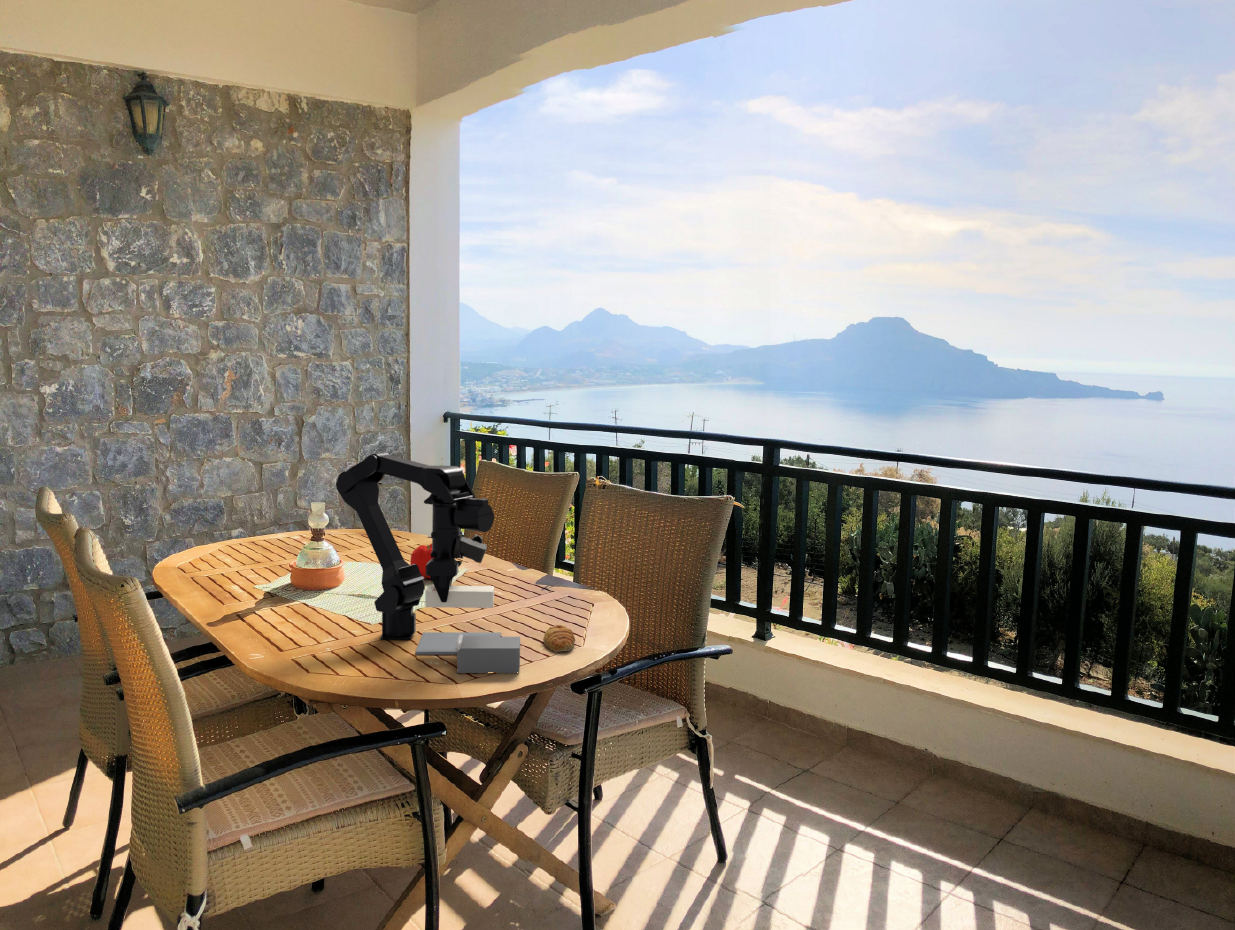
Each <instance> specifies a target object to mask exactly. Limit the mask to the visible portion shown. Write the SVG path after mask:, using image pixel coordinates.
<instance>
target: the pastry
mask: <svg viewBox="0 0 1235 930" xmlns="http://www.w3.org/2000/svg"><path fill="white" fill-rule="evenodd" d="M542 641H543V643H544V646H546V647H547V648H548V649H549V650H550V649H551V651H552V650H553V651H552V652H555V651H556V652H555V653H559V652H571V650H572V649H573V648H572V647H574V646H575V642H576V637H575V634H574V631H573V630H571V628H568V627H567V626H565V625H563V624H555V625H554V626H550V627H548V629H547V630H546V631H545V632H544V634H543V639H542Z"/></svg>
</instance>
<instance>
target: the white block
mask: <svg viewBox="0 0 1235 930" xmlns="http://www.w3.org/2000/svg"><path fill="white" fill-rule="evenodd" d="M424 594H425V597H424V598H425V599H424V605H425V606H424V607H425V608H461V609H462V608H464V609H465V608H467V609H470V608H472V609H473V608H474V609H475V608H478V609H482V608H483V609H487V608H488V609H493V608H494V603H495V586H493V585H451V586H450V588H449V593H448V598H447V602H441V600H440V598H439V595H438V593H437V591H436V588H435V586H434V584H431V585H427V587H426V588H425V590H424Z"/></svg>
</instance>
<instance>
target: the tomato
mask: <svg viewBox="0 0 1235 930" xmlns="http://www.w3.org/2000/svg"><path fill="white" fill-rule="evenodd" d="M431 551H432V542H431V543H430V544H423V545H418V546H417V547H415V549H414V550H413V551H412V553H411V555H410V564H409V565H413V564H417V566H418V567H419V570H420V573H421V575H422V577H423V578H424V579H425V580H426V579H430V580H431V578H430V576H427V575H426V565H427V563H428V562H429V561H430V560H431V559H432V558H434V557H431Z"/></svg>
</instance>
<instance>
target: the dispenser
mask: <svg viewBox="0 0 1235 930" xmlns="http://www.w3.org/2000/svg"><path fill="white" fill-rule="evenodd" d="M455 650H456V651H458V653H457V655H456V656H457V660H456V661H457V664H456V665H457V668H456V669H457V672H456V674H457V673H488V672H497V673H517V672H518V673H519V674H520V663H521V636H501V637H463V635H462V634H459V635H458V639H457V642H456V646H455Z"/></svg>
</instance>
